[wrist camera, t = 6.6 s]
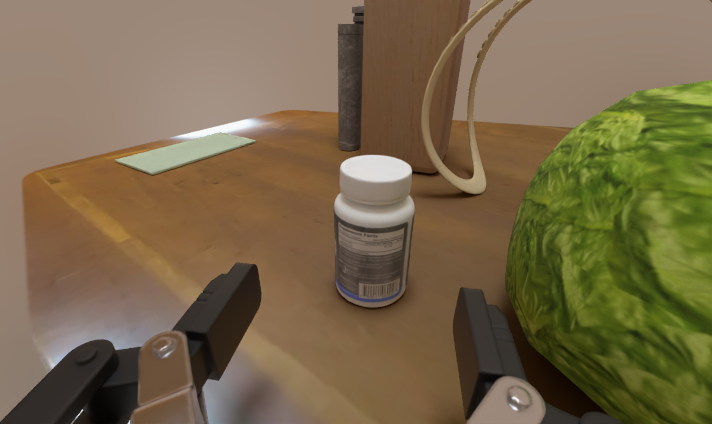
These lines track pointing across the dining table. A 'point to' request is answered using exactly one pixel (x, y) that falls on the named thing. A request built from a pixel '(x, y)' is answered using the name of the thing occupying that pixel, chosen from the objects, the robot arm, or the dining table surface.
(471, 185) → the octopus tentacle
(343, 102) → the flask
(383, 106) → the wooden block
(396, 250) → the pill bottle
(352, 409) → the dining table surface
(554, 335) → the lettuce
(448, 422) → the dining table surface
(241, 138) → the edge mat
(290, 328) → the dining table surface
